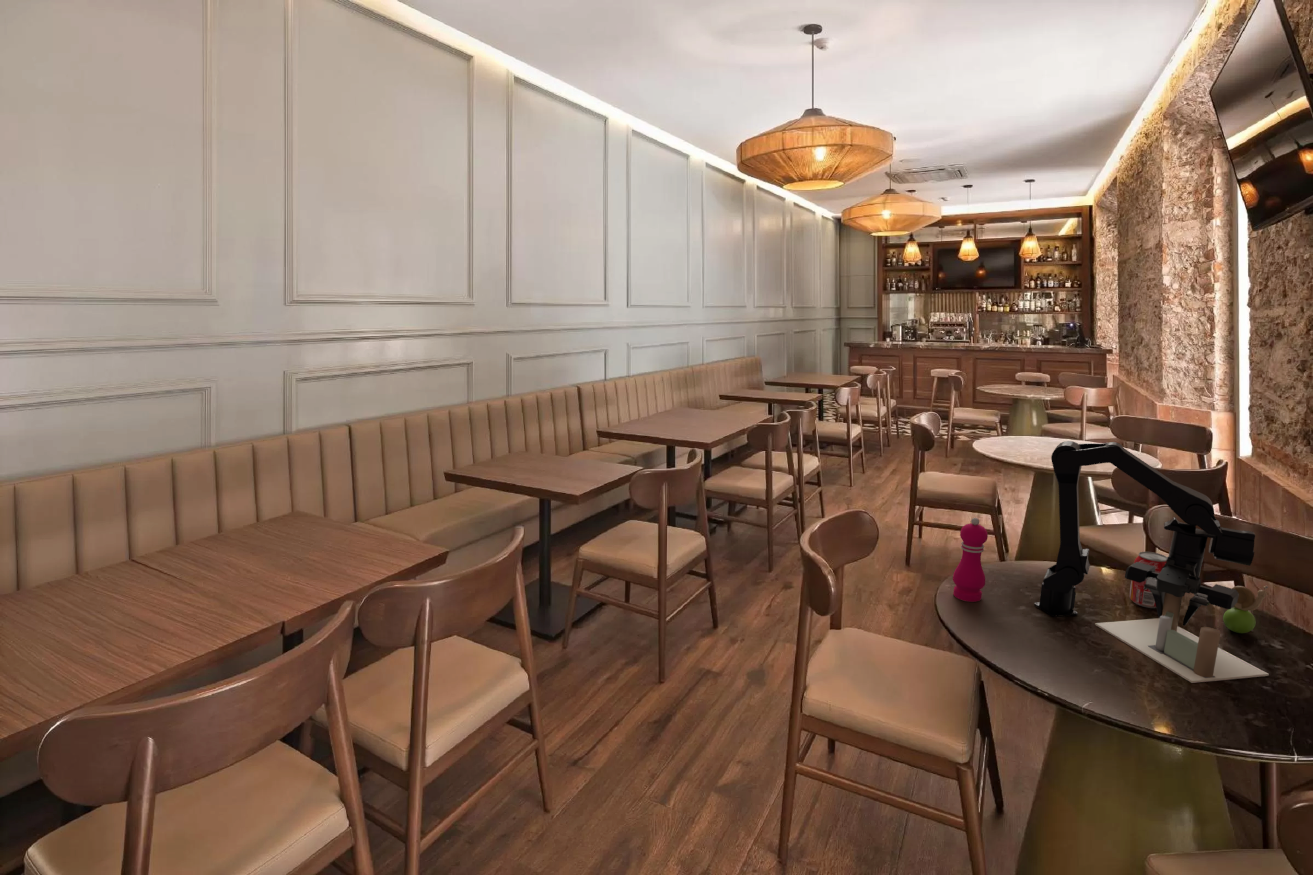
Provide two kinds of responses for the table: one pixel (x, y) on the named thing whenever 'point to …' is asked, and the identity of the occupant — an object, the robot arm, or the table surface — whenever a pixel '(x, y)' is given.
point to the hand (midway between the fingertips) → (1172, 621)
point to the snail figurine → (1243, 610)
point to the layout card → (1144, 641)
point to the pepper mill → (970, 563)
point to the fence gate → (1172, 609)
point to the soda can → (1137, 589)
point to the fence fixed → (1189, 647)
